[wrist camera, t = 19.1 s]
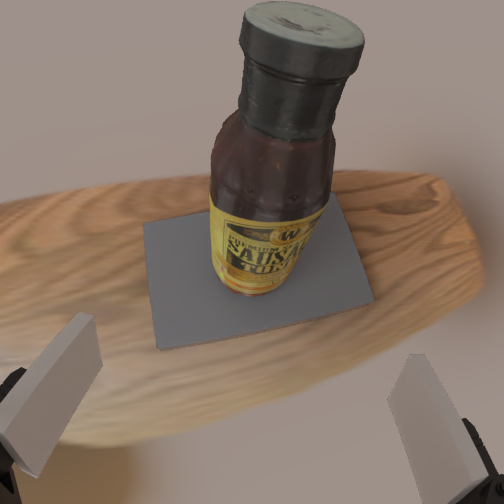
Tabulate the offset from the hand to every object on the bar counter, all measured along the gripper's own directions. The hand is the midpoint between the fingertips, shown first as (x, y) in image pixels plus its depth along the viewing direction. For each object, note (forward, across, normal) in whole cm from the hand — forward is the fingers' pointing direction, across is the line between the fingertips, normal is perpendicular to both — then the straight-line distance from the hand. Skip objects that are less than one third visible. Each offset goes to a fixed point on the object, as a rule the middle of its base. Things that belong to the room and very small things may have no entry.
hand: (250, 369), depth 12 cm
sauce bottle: (+14, 0, -2) cm, 15 cm away
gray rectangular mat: (+16, 0, -2) cm, 16 cm away
